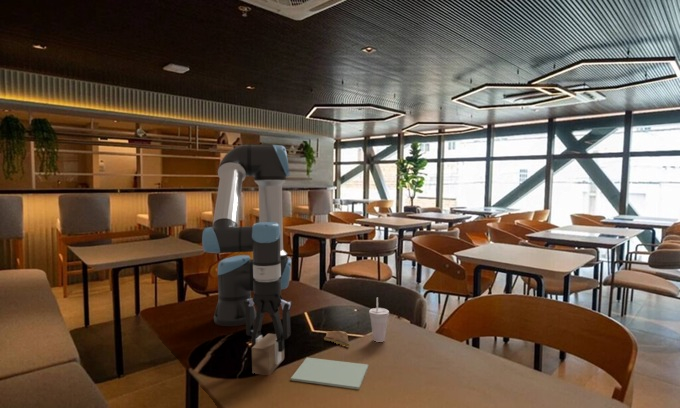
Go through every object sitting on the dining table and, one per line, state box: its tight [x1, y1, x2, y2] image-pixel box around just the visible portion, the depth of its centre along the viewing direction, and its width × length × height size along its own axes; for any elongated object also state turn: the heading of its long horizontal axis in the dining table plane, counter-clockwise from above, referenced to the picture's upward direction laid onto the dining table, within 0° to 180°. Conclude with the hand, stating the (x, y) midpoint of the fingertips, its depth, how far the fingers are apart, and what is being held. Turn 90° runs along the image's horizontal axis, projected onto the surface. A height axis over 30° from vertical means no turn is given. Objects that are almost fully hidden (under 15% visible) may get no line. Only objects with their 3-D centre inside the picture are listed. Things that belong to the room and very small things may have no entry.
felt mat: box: [290, 356, 369, 390], centre depth 103 cm, size 18×12×1 cm, turn 75°
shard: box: [323, 330, 350, 347], centre depth 124 cm, size 11×8×2 cm
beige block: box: [251, 332, 285, 376], centre depth 108 cm, size 5×10×7 cm, turn 165°
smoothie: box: [368, 297, 390, 343], centre depth 124 cm, size 6×6×14 cm
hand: (268, 360), depth 108 cm, fingers closed on beige block, 5 cm apart
